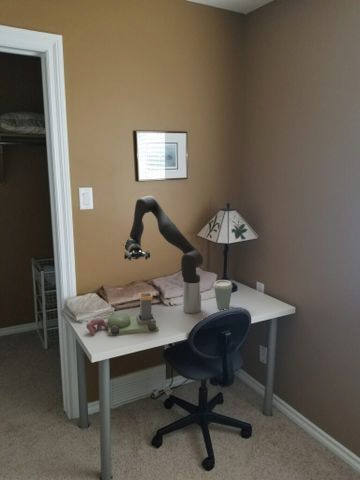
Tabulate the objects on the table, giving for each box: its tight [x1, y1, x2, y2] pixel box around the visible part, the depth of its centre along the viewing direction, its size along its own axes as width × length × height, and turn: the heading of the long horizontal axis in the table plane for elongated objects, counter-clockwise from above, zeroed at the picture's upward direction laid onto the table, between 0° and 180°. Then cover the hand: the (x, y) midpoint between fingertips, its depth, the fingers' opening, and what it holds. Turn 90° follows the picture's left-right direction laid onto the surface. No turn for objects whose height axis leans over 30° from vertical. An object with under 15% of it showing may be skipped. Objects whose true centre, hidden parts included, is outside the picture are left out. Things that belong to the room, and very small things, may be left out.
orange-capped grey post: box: [138, 291, 154, 321], centre depth 196 cm, size 6×6×14 cm
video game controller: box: [86, 318, 108, 336], centre depth 191 cm, size 10×5×7 cm, turn 138°
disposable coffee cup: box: [213, 279, 233, 311], centre depth 218 cm, size 11×11×15 cm
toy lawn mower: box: [107, 312, 159, 336], centre depth 196 cm, size 24×16×5 cm
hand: (138, 258), depth 210 cm, fingers open, 8 cm apart
